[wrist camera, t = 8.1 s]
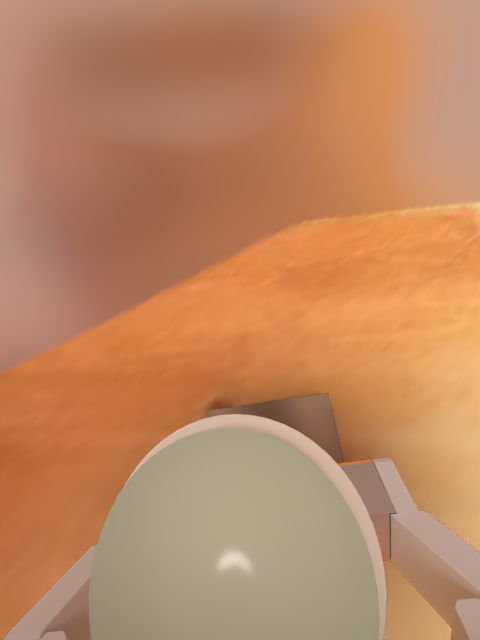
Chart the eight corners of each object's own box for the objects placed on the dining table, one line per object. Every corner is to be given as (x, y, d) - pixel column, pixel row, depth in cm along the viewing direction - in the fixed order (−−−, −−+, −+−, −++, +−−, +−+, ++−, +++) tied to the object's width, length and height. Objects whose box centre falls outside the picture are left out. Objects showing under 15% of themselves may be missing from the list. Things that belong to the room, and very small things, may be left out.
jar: (218, 562, 13) (57, 836, 4) (208, 435, 15) (81, 431, 6) (339, 550, 13) (461, 831, 4) (313, 421, 14) (351, 391, 5)
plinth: (229, 537, 24) (217, 555, 20) (217, 414, 27) (206, 410, 23) (349, 524, 23) (361, 541, 19) (323, 399, 26) (328, 393, 23)
